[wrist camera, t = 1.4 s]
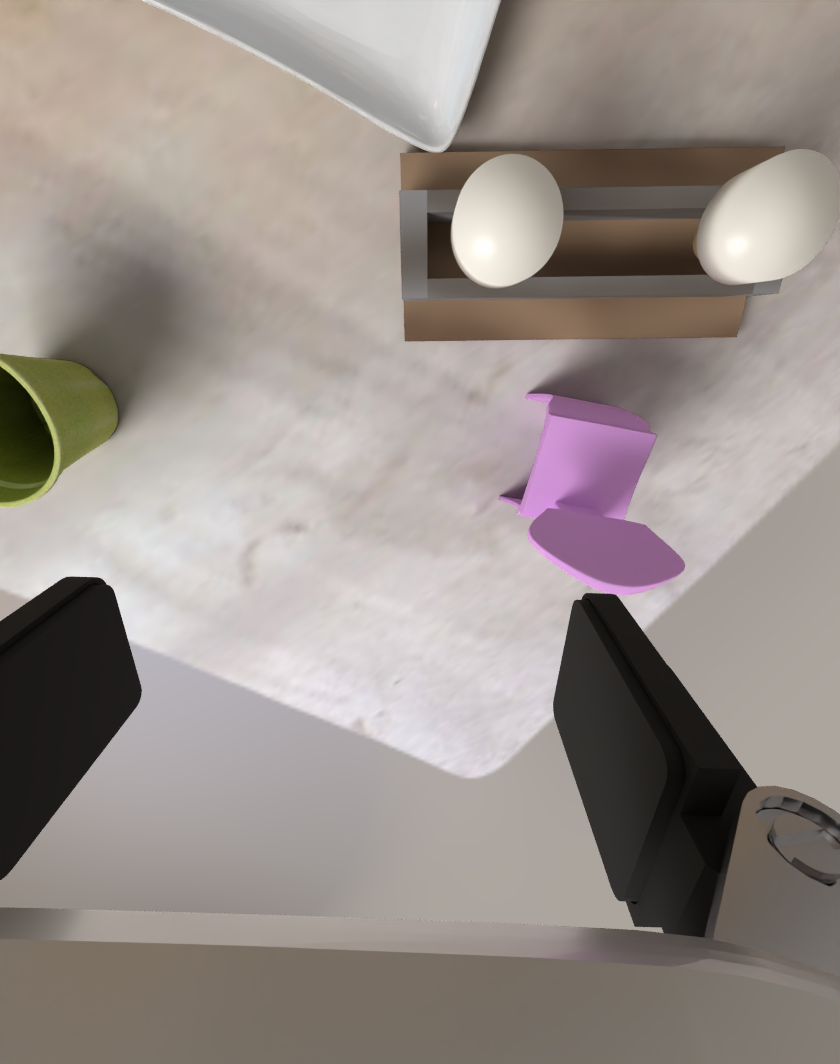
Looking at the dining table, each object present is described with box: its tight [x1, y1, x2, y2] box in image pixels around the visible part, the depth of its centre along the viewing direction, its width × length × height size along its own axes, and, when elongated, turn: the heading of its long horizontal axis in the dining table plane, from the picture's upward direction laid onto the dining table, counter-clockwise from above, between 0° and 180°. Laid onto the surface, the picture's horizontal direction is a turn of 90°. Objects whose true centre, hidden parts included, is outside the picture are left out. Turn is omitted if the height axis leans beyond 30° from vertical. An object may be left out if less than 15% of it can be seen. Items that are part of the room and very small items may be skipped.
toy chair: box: [499, 394, 685, 595], centre depth 28 cm, size 8×9×15 cm
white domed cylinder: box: [693, 149, 840, 285], centre depth 22 cm, size 5×5×5 cm
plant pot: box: [0, 354, 118, 507], centre depth 29 cm, size 9×9×9 cm
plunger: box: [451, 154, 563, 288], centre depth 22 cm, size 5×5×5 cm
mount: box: [399, 147, 785, 341], centre depth 27 cm, size 10×22×4 cm, turn 91°
